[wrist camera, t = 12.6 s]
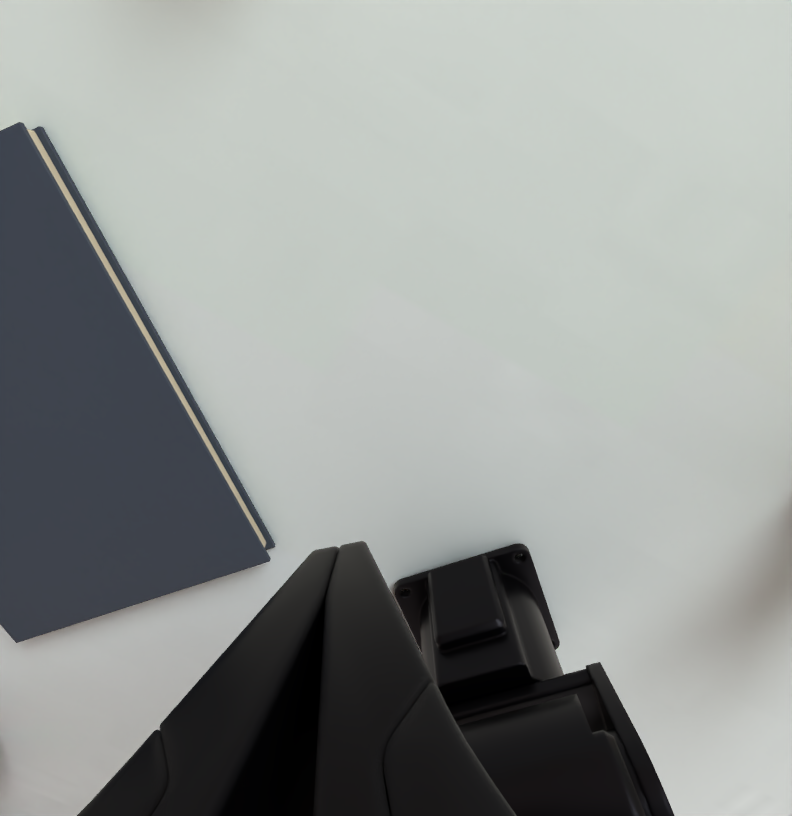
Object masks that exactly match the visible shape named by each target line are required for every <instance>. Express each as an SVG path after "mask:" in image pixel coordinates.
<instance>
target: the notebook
mask: <svg viewBox="0 0 792 816" xmlns="http://www.w3.org/2000/svg"><path fill="white" fill-rule="evenodd" d="M273 547H275V543H274V541H273V540H272V538H271V536H270V534H269V532H268V531H267V529H266V527H265V525H264V523H263V522H262V520H261V518H260V516H259V514H258V513H257V511H256V509H255V507H254V505H253V504H252V502H251V500H250V498H249V496H248V495H247V493H246V491H245V489H244V487H243V486H242V484H241V482H240V480H239V479H238V477H237V475H236V473H235V471H234V470H233V468H232V466H231V464H230V462H229V461H228V459H227V457H226V455H225V453H224V452H223V450H222V448H221V446H220V444H219V443H218V441H217V439H216V437H215V435H214V434H213V432H212V430H211V428H210V426H209V425H208V423H207V421H206V419H205V417H204V416H203V414H202V412H201V410H200V408H199V407H198V405H197V403H196V401H195V399H194V398H193V396H192V394H191V392H190V391H189V389H188V387H187V385H186V383H185V382H184V380H183V378H182V376H181V374H180V373H179V371H178V369H177V367H176V365H175V364H174V362H173V360H172V358H171V356H170V355H169V353H168V351H167V349H166V347H165V346H164V344H163V342H162V340H161V338H160V337H159V335H158V333H157V331H156V329H155V328H154V326H153V324H152V322H151V320H150V319H149V317H148V315H147V313H146V311H145V310H144V308H143V306H142V304H141V303H140V301H139V299H138V297H137V295H136V294H135V292H134V290H133V288H132V286H131V285H130V283H129V281H128V279H127V277H126V276H125V274H124V272H123V270H122V268H121V267H120V265H119V263H118V261H117V259H116V258H115V256H114V254H113V252H112V250H111V249H110V247H109V245H108V243H107V241H106V240H105V238H104V236H103V234H102V232H101V231H100V229H99V227H98V225H97V224H96V222H95V220H94V218H93V216H92V215H91V213H90V211H89V209H88V207H87V206H86V204H85V202H84V200H83V198H82V197H81V195H80V193H79V191H78V189H77V188H76V186H75V184H74V182H73V180H72V179H71V177H70V175H69V173H68V171H67V170H66V168H65V166H64V164H63V162H62V161H61V159H60V157H59V155H58V153H57V152H56V150H55V148H54V146H53V144H52V143H51V141H50V139H49V137H48V136H47V134H46V132H45V130H44V128H43V127H37V128H35V129H33V130H28V129H26V127H25V125H24V124H23V123H20V122H19V123H17V124H14V125H12V126H10V127H8V128H6V129H4V130H1V131H0V624H1V626H2V627H3V628H4V629H5V630H6V631H7V633H8V634H9V635H10V636H11V637H12V638H13V640H14V641H15V642H16V643H17V642H21V641H24V640H27V639H30V638H33V637H36V636H39V635H42V634H45V633H49V632H52V631H55V630H58V629H61V628H64V627H67V626H70V625H73V624H76V623H80V622H83V621H86V620H89V619H92V618H95V617H98V616H101V615H104V614H107V613H111V612H114V611H117V610H120V609H123V608H126V607H129V606H132V605H135V604H138V603H142V602H145V601H148V600H151V599H154V598H157V597H160V596H163V595H166V594H170V593H173V592H176V591H179V590H182V589H185V588H188V587H191V586H194V585H197V584H201V583H204V582H207V581H210V580H213V579H216V578H219V577H222V576H225V575H228V574H232V573H235V572H238V571H241V570H244V569H247V568H250V567H253V566H256V565H259V564H263V563H266V562H269V561H270V557H269V555H268V553H267V551H266V550H267V549H270V548H273Z"/></svg>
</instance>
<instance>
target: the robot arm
mask: <svg viewBox="0 0 792 816" xmlns="http://www.w3.org/2000/svg"><path fill="white" fill-rule="evenodd" d="M517 554H522V556H520V557H515V555H517ZM394 589H395V597H396V599H397V601H398V603H399V605H400V607H401V609H402V611H403V614H404V616H405V618H406V620H407V622H408V624H409V626H410V628H411V630H412V633H413V635H414V637H415V639H416V641H417V643H418V645H419V647H420V649H421V652H422V655H421V653H420V651H419V649H418V647H417V645H416V643H415V641H414V639H413V637H412V635H411V633H410V631H409V629H408V627H407V625H406V623H405V621H404V619H403V617H402V615H401V613H400V611H399V609H398V607H397V605H396V602H395V600H394V598H393V596H392V594H391V592H390V590H389V588H388V586H387V584H386V582H385V580H384V578H383V576H382V574H381V572H380V570H379V568H378V566H377V564H376V562H375V560H374V558H373V556H372V554H371V552H370V550H369V548H368V546H367V544H366V543H365V542H363V541H360V542H355V543H350V544H345V545H342V546H341V547H340V548H338V547H329V548H324V549H319V550H315V551H313V552H312V553H311V554H310V555H309V556H308V557H307V558H306V559H305V561H304V562H303V563H302V564H301V565H300V566H299V567H298V569H297V570H296V571H295V572H294V573H293V574H292V575H291V577H290V578H289V579H288V580H287V581H286V582H285V583H284V584H283V586H282V587H281V588H280V589H279V590H278V591H277V592H276V594H275V595H274V596H273V597H272V598H271V599H270V600H269V602H268V603H267V604H266V605H265V606H264V607H263V608H262V609H261V611H260V612H259V613H258V614H257V615H256V616H255V617H254V619H253V620H252V621H251V622H250V623H249V624H248V625H247V627H246V628H245V629H244V630H243V631H242V632H241V633H240V634H239V636H238V637H237V638H236V639H235V640H234V641H233V642H232V644H231V645H230V646H229V647H228V648H227V649H226V650H225V652H224V653H223V654H222V655H221V656H220V657H219V658H218V659H217V661H216V662H215V663H214V664H213V665H212V666H211V667H210V669H209V670H208V671H207V672H206V673H205V674H204V675H203V677H202V678H201V679H200V680H199V681H198V682H197V683H196V684H195V686H194V687H193V688H192V689H191V690H190V691H189V692H188V694H187V695H186V696H185V697H184V698H183V699H182V700H181V702H180V703H179V704H178V705H177V706H176V707H175V708H174V709H173V711H172V712H171V713H170V714H169V715H168V716H167V717H166V719H165V720H164V721H163V722H162V723H161V725H160V730H155V731H154V732H153V733H152V734H151V735H150V736H149V738H148V739H147V740H146V741H145V742H144V743H143V744H142V746H141V747H140V748H139V749H138V750H137V751H136V752H135V753H134V755H133V756H132V757H131V758H130V759H129V760H128V761H127V762H126V763H125V765H124V766H123V767H122V768H121V769H120V770H119V771H118V772H117V773H116V774H115V776H114V777H113V778H112V779H111V780H110V781H109V782H108V783H107V784H106V785H105V787H104V788H103V789H102V790H101V791H100V792H99V793H98V794H97V795H96V796H95V797H94V799H93V800H92V801H91V802H90V803H89V804H88V805H87V806H86V807H85V808H84V809H83V810H82V811H81V812H80V813H79V814H78V815H77V816H674V814H673V811H672V809H671V806H670V804H669V801H668V799H667V797H666V794H665V792H664V789H663V787H662V785H661V782H660V780H659V778H658V776H657V773H656V771H655V769H654V767H653V764H652V762H651V760H650V758H649V756H648V754H647V751H646V749H645V747H644V745H643V743H642V741H641V739H640V737H639V735H638V733H637V732H636V730H635V728H634V726H633V724H632V722H631V720H630V718H629V716H628V714H627V713H626V711H625V709H624V707H623V705H622V703H621V701H620V699H619V697H618V695H617V694H616V692H615V690H614V688H613V686H612V684H611V682H610V680H609V678H608V676H607V675H606V673H605V671H604V669H603V667H602V665H601V663H600V662H598V663H594V664H591V665H587V666H586V669H583V670H580V671H576V672H572V673H569V674H565V675H564V674H563V671H562V668H561V666H560V663H559V660H558V657H557V655H556V652H555V650H556V649H557V648H558V647H559V639H558V636H557V633H556V630H555V627H554V624H553V621H552V618H551V615H550V612H549V609H548V606H547V603H546V600H545V597H544V594H543V591H542V588H541V585H540V582H539V579H538V576H537V573H536V570H535V567H534V564H533V561H532V558H531V555H530V553H529V550H528V548H527V547H526V546H525V545H523V544H514V545H510V546H507V547H504V548H501V549H497V550H494V551H491V552H488V553H484V554H481V555H478V556H475V557H471V558H468V559H465V560H462V561H458V562H455V563H452V564H449V565H445V566H442V567H439V568H436V569H432V570H429V571H426V572H423V573H419V574H416V575H413V576H410V577H406V578H403V579H400V580H398V581H397V582H396V583H395V587H394ZM402 589H409V590H408V591H402Z"/></svg>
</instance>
